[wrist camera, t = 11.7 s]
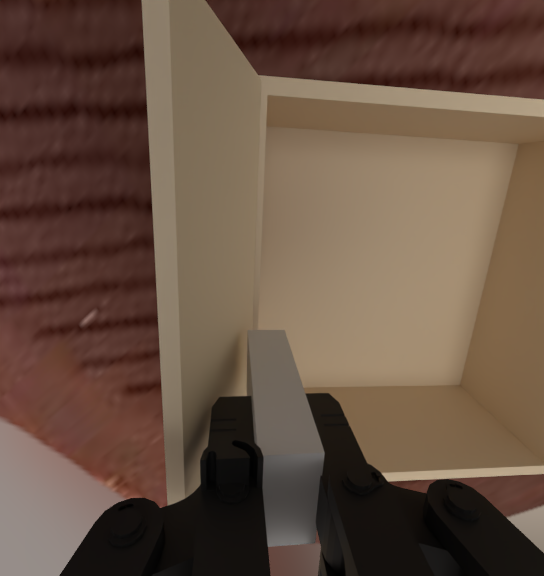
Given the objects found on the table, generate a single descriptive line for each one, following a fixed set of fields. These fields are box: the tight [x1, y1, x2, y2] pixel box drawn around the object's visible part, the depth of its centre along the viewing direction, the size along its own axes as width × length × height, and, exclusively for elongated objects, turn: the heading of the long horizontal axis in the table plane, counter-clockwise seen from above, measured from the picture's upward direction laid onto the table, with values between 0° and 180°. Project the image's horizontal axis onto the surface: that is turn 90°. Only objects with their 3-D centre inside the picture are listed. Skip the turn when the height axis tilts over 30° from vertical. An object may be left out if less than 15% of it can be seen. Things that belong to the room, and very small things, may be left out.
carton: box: [252, 75, 544, 481], centre depth 24 cm, size 22×21×10 cm
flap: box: [142, 0, 261, 505], centre depth 13 cm, size 21×1×8 cm, turn 177°
